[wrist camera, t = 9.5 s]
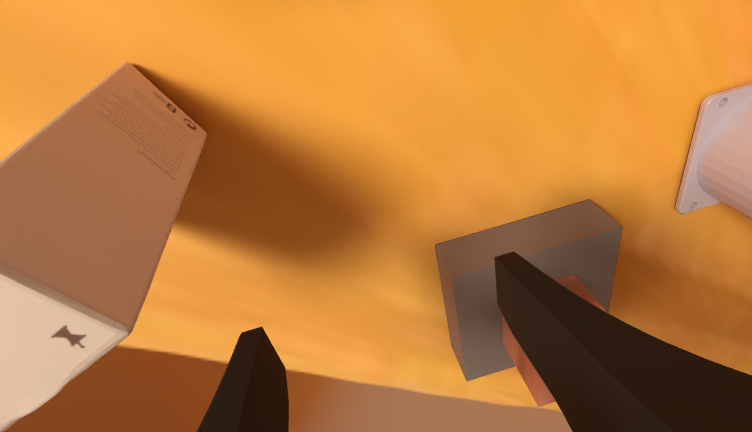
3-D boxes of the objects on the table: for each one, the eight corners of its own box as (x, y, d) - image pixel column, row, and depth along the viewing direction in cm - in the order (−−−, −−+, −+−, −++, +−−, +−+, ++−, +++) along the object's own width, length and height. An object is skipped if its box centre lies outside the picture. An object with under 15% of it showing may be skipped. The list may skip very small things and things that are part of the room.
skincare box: (126, 56, 17) (-84, 220, 7) (210, 132, 19) (141, 336, 9) (31, 148, 18) (-263, 399, 8) (121, 210, 20) (-24, 463, 10)
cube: (573, 273, 25) (625, 332, 21) (568, 323, 27) (613, 383, 24) (501, 295, 25) (540, 358, 21) (503, 343, 27) (538, 406, 23)
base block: (589, 199, 26) (622, 226, 23) (578, 307, 32) (603, 338, 29) (434, 245, 25) (451, 277, 23) (451, 346, 31) (466, 381, 29)
